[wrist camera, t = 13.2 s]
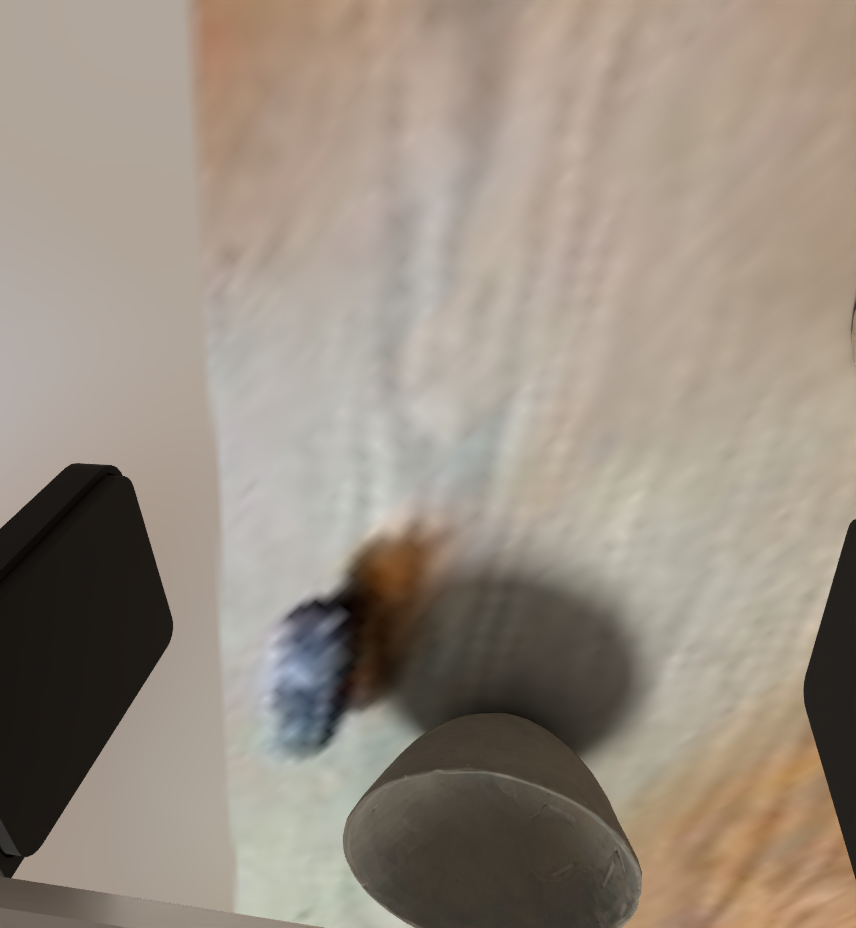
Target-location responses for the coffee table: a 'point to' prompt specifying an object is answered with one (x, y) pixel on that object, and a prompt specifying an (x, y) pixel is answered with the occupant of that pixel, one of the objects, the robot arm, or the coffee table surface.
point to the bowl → (492, 833)
